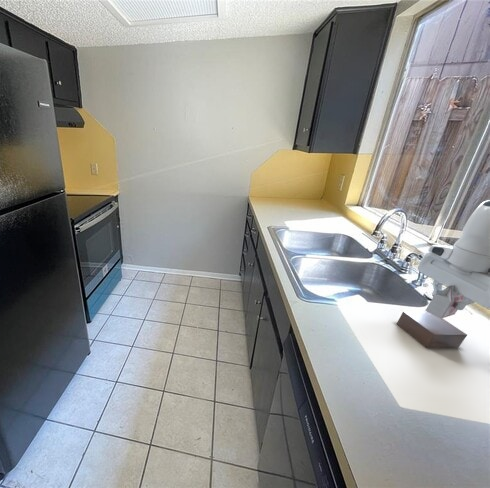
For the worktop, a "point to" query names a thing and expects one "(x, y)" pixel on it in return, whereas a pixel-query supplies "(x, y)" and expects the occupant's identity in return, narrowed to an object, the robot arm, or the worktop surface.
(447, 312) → the white milk carton
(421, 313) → the walnut block
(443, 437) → the worktop surface
